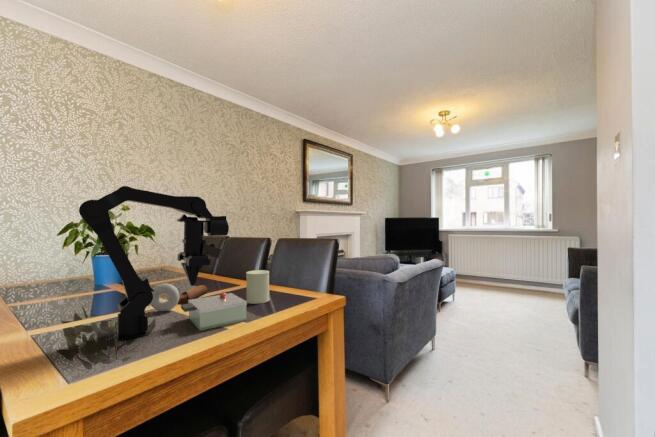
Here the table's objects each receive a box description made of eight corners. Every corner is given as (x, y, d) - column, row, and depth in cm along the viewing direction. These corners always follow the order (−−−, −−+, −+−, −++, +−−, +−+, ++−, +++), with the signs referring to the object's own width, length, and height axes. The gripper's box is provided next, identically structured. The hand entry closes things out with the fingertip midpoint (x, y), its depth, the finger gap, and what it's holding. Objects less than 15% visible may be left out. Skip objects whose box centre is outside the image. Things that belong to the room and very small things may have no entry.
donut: (147, 313, 101) (147, 284, 101) (151, 310, 104) (151, 282, 104) (177, 312, 102) (177, 283, 102) (181, 309, 106) (181, 281, 106)
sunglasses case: (188, 292, 130) (196, 279, 131) (202, 300, 131) (209, 287, 131) (167, 304, 112) (176, 289, 113) (183, 313, 113) (192, 298, 113)
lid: (188, 316, 82) (188, 308, 82) (177, 304, 93) (177, 297, 94) (247, 304, 93) (247, 297, 93) (231, 295, 104) (231, 289, 104)
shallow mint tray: (200, 330, 84) (200, 313, 84) (188, 318, 95) (188, 303, 95) (246, 320, 93) (246, 304, 93) (231, 310, 104) (231, 296, 104)
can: (267, 303, 112) (267, 272, 112) (243, 304, 112) (243, 272, 112) (271, 297, 121) (271, 268, 121) (249, 297, 121) (249, 269, 121)
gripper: (228, 237, 90) (227, 287, 89) (211, 235, 105) (210, 278, 104) (189, 237, 83) (188, 292, 83) (177, 235, 98) (176, 281, 97)
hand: (192, 285), depth 92 cm, fingers closed
